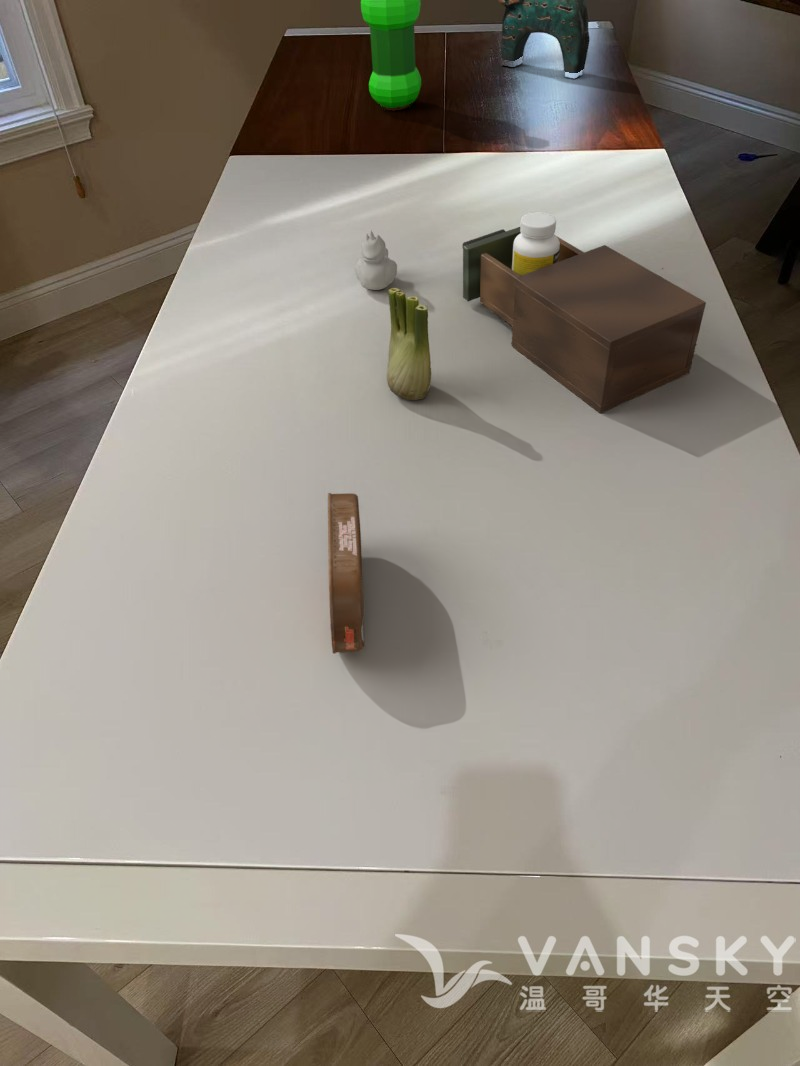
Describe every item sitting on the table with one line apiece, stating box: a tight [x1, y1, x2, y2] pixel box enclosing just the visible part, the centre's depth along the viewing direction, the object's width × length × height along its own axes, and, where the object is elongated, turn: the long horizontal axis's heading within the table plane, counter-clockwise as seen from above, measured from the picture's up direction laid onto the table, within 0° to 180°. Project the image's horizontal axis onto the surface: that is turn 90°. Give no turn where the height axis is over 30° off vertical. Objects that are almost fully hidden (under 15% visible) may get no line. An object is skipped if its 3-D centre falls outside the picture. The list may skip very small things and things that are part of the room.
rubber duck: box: [354, 229, 398, 291], centre depth 106 cm, size 5×7×8 cm
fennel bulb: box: [386, 287, 432, 401], centre depth 88 cm, size 6×5×12 cm
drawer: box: [461, 226, 585, 327], centre depth 100 cm, size 19×12×7 cm, turn 31°
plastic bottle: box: [360, 0, 422, 108], centre depth 147 cm, size 10×10×25 cm
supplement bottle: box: [512, 211, 560, 276], centre depth 97 cm, size 5×5×10 cm
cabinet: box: [511, 244, 707, 414], centre depth 91 cm, size 16×13×9 cm
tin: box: [327, 492, 365, 655], centre depth 68 cm, size 15×3×8 cm, turn 4°
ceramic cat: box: [496, 0, 591, 73], centre depth 159 cm, size 20×6×20 cm, turn 50°
